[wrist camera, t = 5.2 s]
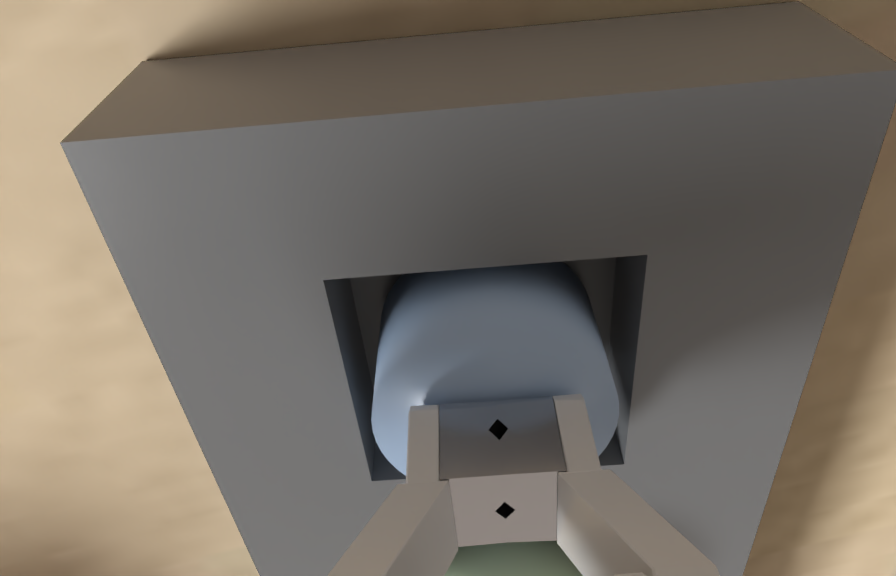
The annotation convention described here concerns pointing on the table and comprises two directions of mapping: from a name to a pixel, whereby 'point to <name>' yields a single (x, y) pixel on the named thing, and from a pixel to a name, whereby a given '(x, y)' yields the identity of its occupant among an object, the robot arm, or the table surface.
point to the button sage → (512, 560)
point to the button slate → (488, 346)
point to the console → (492, 239)
